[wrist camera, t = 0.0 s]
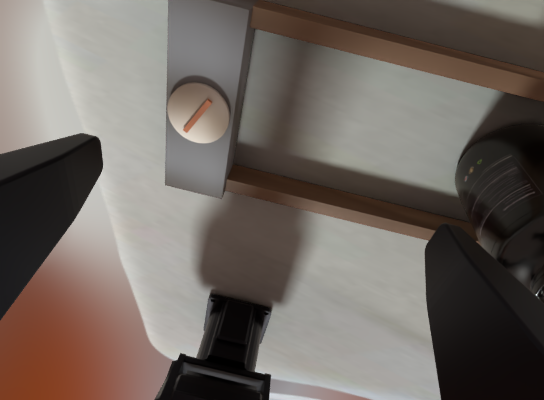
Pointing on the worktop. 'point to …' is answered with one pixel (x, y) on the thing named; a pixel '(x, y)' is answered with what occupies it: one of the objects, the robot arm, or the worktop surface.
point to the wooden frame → (231, 87)
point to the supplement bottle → (508, 199)
